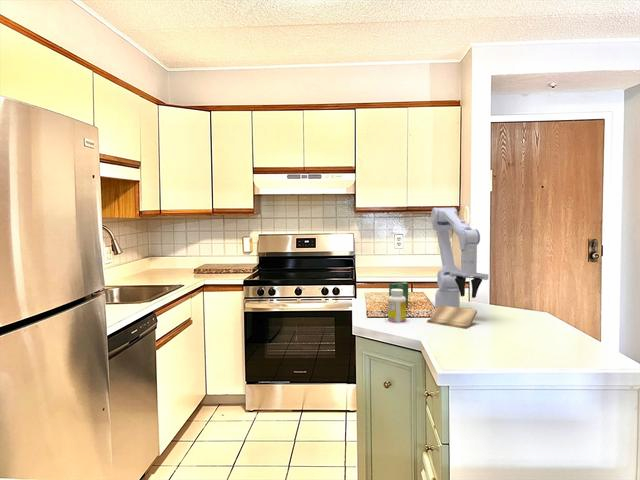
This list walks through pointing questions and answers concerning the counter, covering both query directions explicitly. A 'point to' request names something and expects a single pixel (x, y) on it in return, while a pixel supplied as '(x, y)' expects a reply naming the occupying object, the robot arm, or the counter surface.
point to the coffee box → (400, 286)
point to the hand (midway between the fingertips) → (468, 296)
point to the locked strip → (448, 323)
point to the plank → (454, 314)
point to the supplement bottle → (397, 306)
